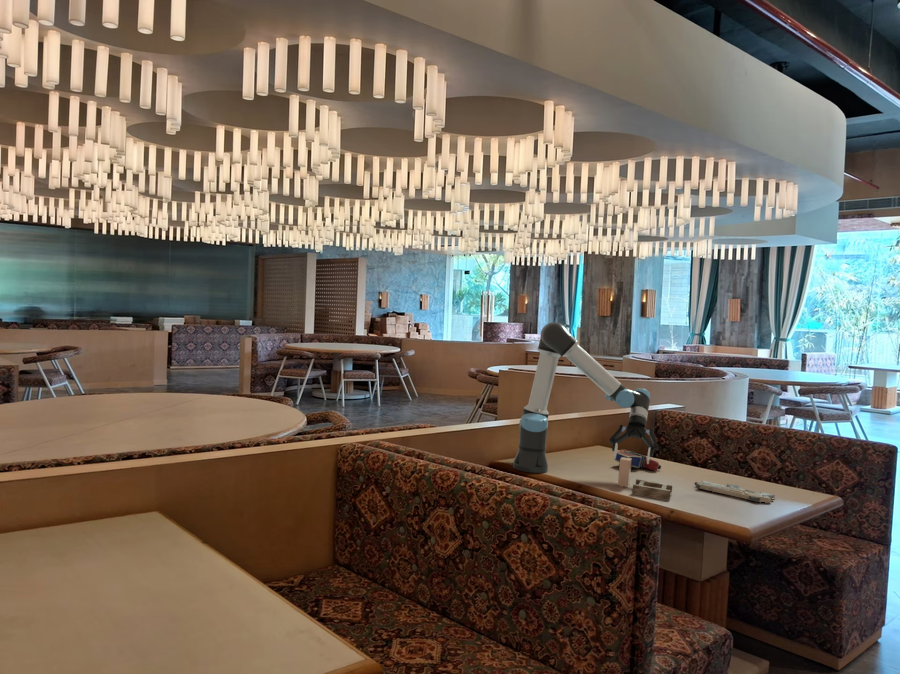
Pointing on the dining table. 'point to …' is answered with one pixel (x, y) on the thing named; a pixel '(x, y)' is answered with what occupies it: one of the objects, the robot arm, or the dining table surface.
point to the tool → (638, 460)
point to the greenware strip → (624, 471)
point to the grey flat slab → (736, 491)
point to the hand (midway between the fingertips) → (630, 459)
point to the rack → (652, 489)
